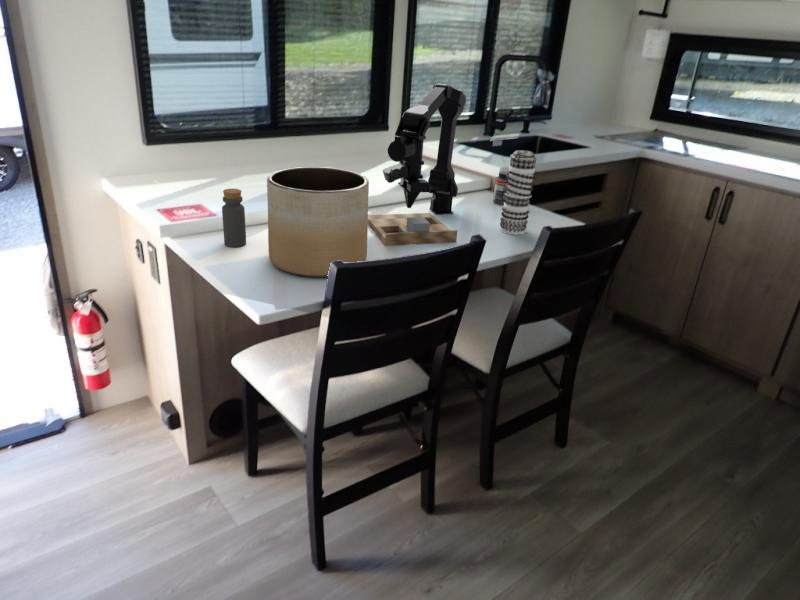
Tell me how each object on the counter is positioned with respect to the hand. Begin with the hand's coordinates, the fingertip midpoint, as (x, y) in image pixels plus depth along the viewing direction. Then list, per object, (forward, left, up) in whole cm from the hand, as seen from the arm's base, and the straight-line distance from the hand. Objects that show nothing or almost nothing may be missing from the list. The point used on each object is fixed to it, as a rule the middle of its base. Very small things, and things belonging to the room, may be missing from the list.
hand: (408, 207), depth 179 cm
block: (0, +9, -5) cm, 10 cm away
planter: (+32, +21, -7) cm, 39 cm away
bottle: (+52, +5, -7) cm, 53 cm away
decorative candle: (-34, +5, -7) cm, 35 cm away
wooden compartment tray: (0, +1, -7) cm, 7 cm away
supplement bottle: (-45, -25, -7) cm, 52 cm away
